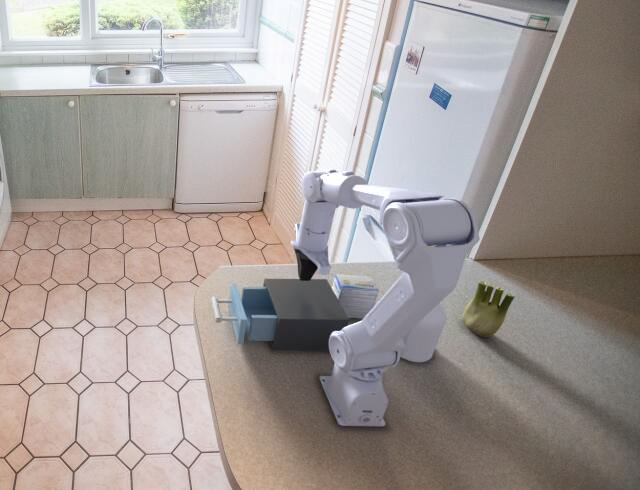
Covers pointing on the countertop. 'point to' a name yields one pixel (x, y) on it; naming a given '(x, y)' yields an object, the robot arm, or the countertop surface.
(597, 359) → the countertop surface
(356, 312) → the medicine box
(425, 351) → the soap bottle
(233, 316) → the blue drawer
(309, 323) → the dark grey drawer cabinet
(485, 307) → the fennel bulb
